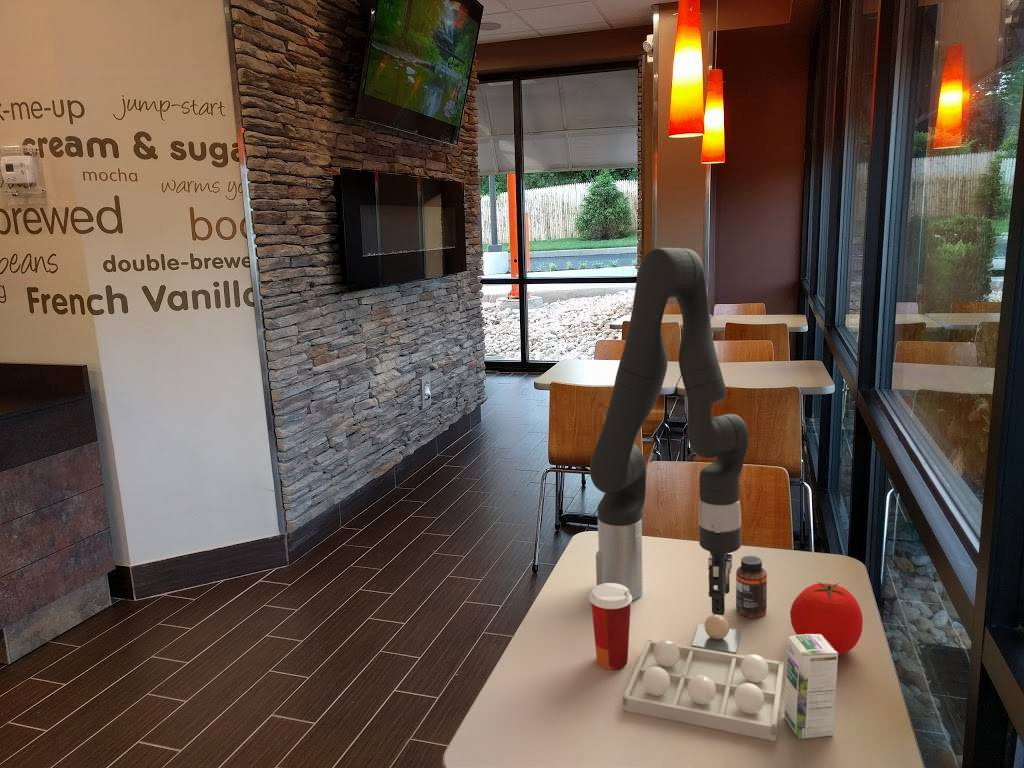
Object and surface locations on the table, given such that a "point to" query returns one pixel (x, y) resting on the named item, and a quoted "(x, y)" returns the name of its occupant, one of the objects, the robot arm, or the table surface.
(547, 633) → the table surface
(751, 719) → the carton
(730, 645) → the slate coaster
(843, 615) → the tomato
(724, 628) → the brown egg
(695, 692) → the white egg front middle
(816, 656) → the syrup box
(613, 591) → the paper cup
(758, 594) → the supplement bottle
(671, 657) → the white egg back left
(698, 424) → the robot arm
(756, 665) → the white egg back right
